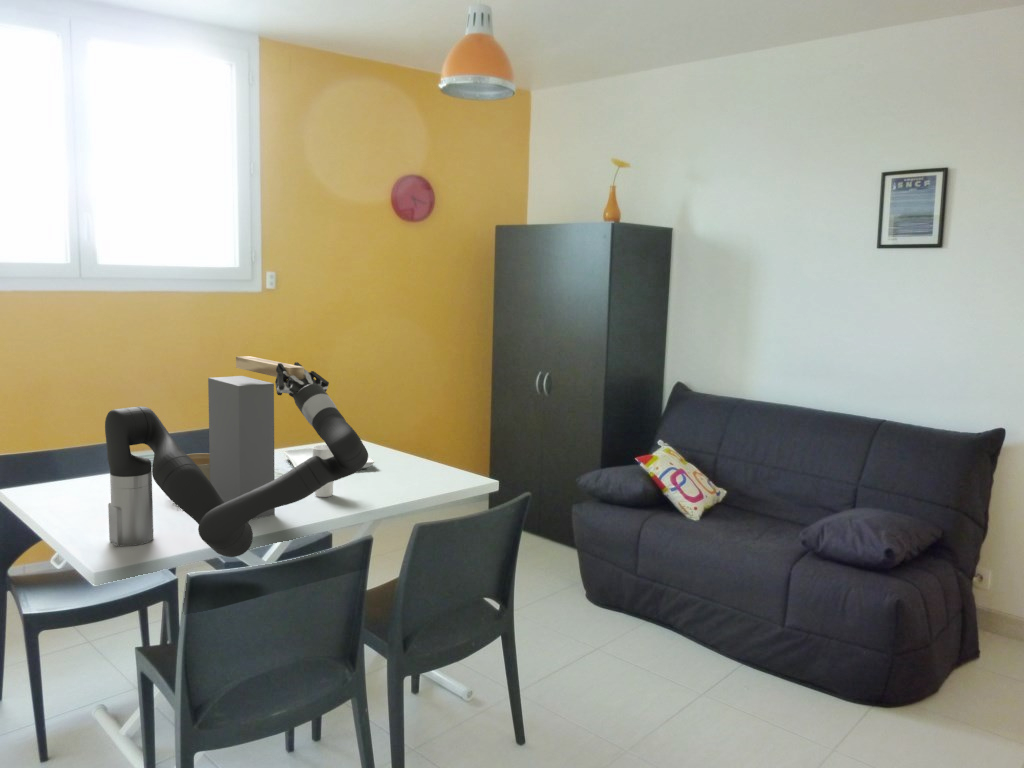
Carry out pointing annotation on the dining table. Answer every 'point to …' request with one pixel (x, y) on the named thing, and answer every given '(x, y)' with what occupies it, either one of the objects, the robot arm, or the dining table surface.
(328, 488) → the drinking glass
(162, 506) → the dining table surface
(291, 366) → the block
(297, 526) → the dining table surface
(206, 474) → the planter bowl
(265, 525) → the dining table surface
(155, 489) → the dining table surface
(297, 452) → the square plate
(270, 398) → the stand
